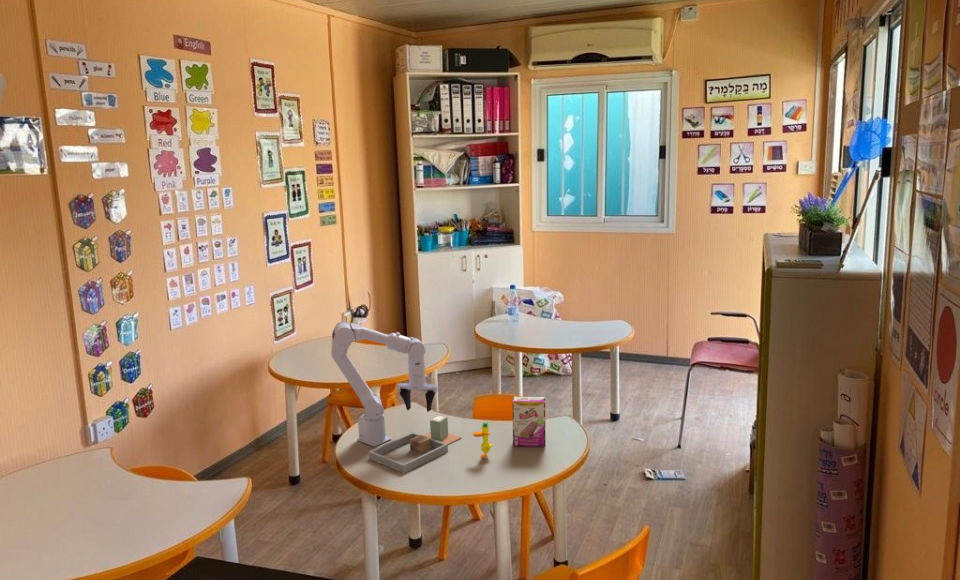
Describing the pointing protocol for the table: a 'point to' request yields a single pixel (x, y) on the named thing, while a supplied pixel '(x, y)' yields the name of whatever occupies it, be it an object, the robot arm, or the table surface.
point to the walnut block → (420, 444)
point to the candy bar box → (529, 421)
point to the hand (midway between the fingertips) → (418, 409)
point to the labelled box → (439, 428)
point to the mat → (447, 440)
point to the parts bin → (377, 456)
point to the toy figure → (484, 439)
